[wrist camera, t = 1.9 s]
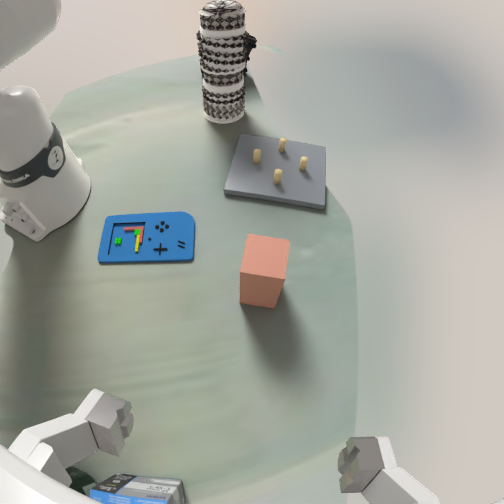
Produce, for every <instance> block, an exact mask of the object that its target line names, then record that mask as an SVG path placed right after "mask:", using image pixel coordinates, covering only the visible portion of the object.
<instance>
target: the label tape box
mask: <svg viewBox="0 0 504 504" xmlns="http://www.w3.org/2000/svg"><path fill="white" fill-rule="evenodd" d="M90 498H92V499H94V500H96V501H98V502H101V503H103V504H185V500H184V494H183V488H182V481H181V479H166V478H152V477H142V476H133V475H126V474H119V473H117V474H115V475H113V476H112V477H110V478H108V479H106V480H105V481H103V482H101V483H99V484H97V485H96V486H94V487H92V488H91V489H90Z"/></svg>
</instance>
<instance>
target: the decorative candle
mask: <svg viewBox="0 0 504 504" xmlns="http://www.w3.org/2000/svg"><path fill="white" fill-rule="evenodd" d="M245 12H246V9H245V8H243V7H242V6H241V4H240V3H238V2H236V1H231V0H219V1H212V2H209V3H207V4H206V5H205V6H204V7H203V9H201V10H199V12H198V13H199V14H200V15H201V18H200V19H201V25H200V30H199V31H198V33H197V34H196V35H197V39H198V40H199V43H198V46H199V47H198V48H199V51H198V52H199V56H201V58H200V65H201V69H202V70H203V73H204V78H203V86H202V91H203V105H204V115H205V117H206V119H208V120H209V121H211V122H214V123H218V124H228V123H232V122H235V121H237V120H239V119H241V118H242V116H243V115H244V108H245V106H243V105H244V102H245V100H244V98H245V97H244V95H245V90H244V89H245V83H244V76H243V69H244V68H245V64H246V62H245V61H246V60H247V57H246V55H245V54H247V49H246V48H245V47H244V46H246V45H247V44H248V43H249V42H248V40H247V39H245V38H247V37H248V36H249V33H248V32H246V31H245V23H244V20H245ZM200 35H202V39H201V36H200ZM202 52H203V53H202Z"/></svg>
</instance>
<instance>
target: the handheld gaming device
mask: <svg viewBox="0 0 504 504" xmlns="http://www.w3.org/2000/svg"><path fill="white" fill-rule="evenodd" d="M194 237H195V222H194V219H193V217H192V216H191V215H190V214H188V213H186V212H164V213H146V214H130V215H116V216H108V217H107V218H106V220H105V224H104V229H103V233H102V238H101V243H100V248H99V253H98V261H99V262H100V263H130V262H169V261H191V260H193V258H194Z"/></svg>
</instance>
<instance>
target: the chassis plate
mask: <svg viewBox="0 0 504 504" xmlns="http://www.w3.org/2000/svg"><path fill="white" fill-rule="evenodd" d="M325 149H326V148H325V147H323V146H317V145H312V144H307V143H301V142H296V141H290V140H286V139H285V138H280V139H277V138H270V137H264V136H256V135H249V134H240V137H239V140H238V143H237V147H236V150H235V153H234V156H233V160H232V163H231V167H230V170H229V173H228V177H227V180H226V184H225V187H224V194H229V195H236V196H243V197H250V198H256V199H263V200H269V201H275V202H281V203H287V204H293V205H299V206H305V207H310V208H316V209H322V210H323V209H324V206H325V176H326V175H325V174H326V173H325V172H326V170H325V169H326V152H325V151H326V150H325Z"/></svg>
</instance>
